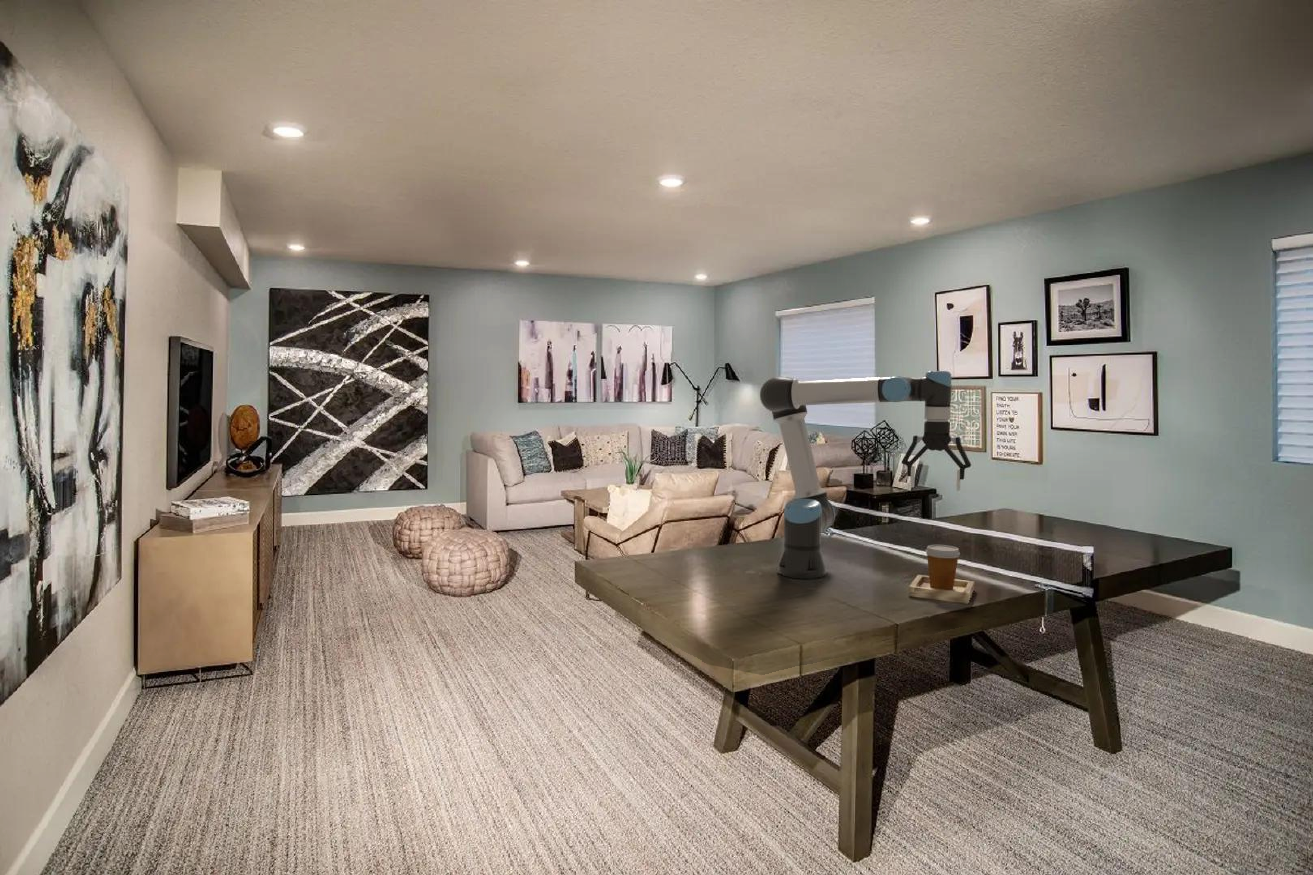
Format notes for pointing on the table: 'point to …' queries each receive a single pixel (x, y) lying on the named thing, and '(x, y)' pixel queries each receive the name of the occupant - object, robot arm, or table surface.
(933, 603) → the table surface
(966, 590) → the tray
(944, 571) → the disposable coffee cup
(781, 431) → the robot arm
